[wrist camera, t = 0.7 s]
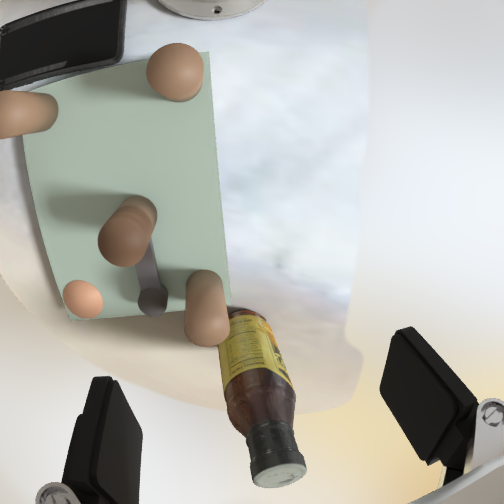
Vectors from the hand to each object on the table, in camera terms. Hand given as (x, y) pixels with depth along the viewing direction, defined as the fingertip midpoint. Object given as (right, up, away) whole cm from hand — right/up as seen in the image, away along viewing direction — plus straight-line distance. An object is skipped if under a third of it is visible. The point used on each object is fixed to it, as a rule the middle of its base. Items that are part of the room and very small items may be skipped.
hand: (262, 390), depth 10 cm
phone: (-19, +25, +12) cm, 34 cm away
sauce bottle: (-1, -4, +27) cm, 27 cm away
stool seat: (-12, +10, +19) cm, 25 cm away
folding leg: (-10, +4, +19) cm, 22 cm away
